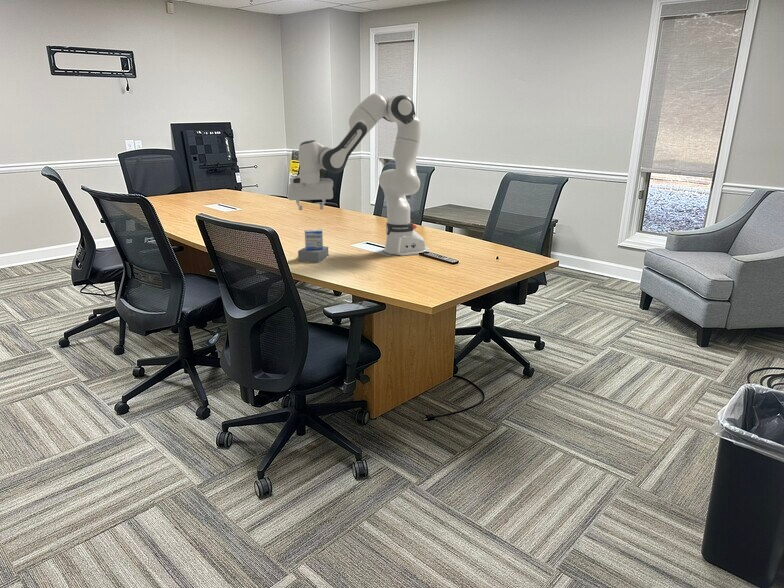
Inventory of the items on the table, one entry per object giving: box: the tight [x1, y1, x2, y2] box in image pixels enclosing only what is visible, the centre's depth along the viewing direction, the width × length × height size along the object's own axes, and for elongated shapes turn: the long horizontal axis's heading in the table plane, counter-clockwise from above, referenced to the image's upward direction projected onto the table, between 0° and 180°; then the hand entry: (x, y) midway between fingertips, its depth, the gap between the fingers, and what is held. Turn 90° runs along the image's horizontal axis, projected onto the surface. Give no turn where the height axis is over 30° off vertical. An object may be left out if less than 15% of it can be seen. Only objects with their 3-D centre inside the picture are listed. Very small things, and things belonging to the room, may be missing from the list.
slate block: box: [297, 245, 329, 263], centre depth 253 cm, size 10×12×5 cm
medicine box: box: [304, 229, 324, 250], centre depth 251 cm, size 8×4×9 cm, turn 102°
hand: (311, 209), depth 246 cm, fingers open, 8 cm apart
